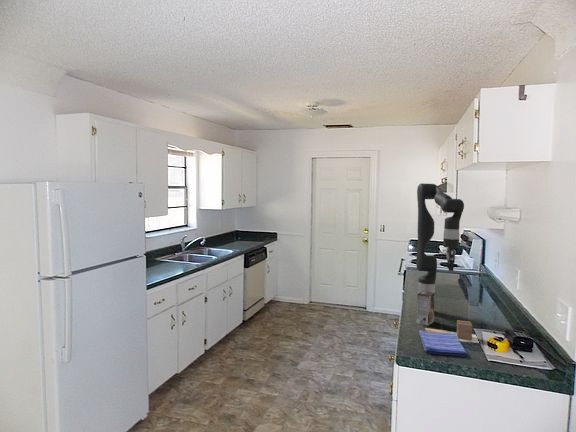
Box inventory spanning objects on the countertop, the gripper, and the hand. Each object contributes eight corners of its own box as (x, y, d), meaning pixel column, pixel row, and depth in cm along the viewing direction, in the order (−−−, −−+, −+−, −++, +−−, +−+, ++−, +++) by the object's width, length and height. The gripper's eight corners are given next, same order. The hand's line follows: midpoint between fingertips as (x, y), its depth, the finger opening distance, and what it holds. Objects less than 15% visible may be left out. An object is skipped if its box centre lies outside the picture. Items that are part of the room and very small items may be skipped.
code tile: (449, 331, 194) (449, 331, 194) (475, 335, 190) (475, 334, 190) (451, 340, 182) (451, 339, 182) (479, 343, 179) (479, 343, 178)
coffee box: (422, 319, 213) (423, 290, 212) (434, 322, 209) (435, 292, 208) (415, 323, 206) (417, 293, 205) (428, 326, 202) (429, 295, 201)
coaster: (424, 329, 197) (424, 327, 197) (448, 331, 194) (448, 330, 194) (425, 335, 187) (425, 334, 187) (450, 338, 184) (450, 337, 184)
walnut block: (456, 334, 190) (457, 320, 189) (469, 335, 188) (470, 321, 188) (457, 338, 184) (458, 323, 184) (471, 340, 182) (472, 325, 182)
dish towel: (425, 354, 165) (425, 347, 165) (418, 333, 188) (418, 328, 188) (468, 358, 162) (469, 351, 161) (455, 336, 185) (455, 331, 185)
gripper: (442, 236, 206) (441, 266, 207) (444, 238, 193) (443, 271, 193) (457, 237, 204) (456, 267, 204) (461, 239, 190) (459, 272, 191)
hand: (450, 269), depth 199 cm, fingers open, 8 cm apart
